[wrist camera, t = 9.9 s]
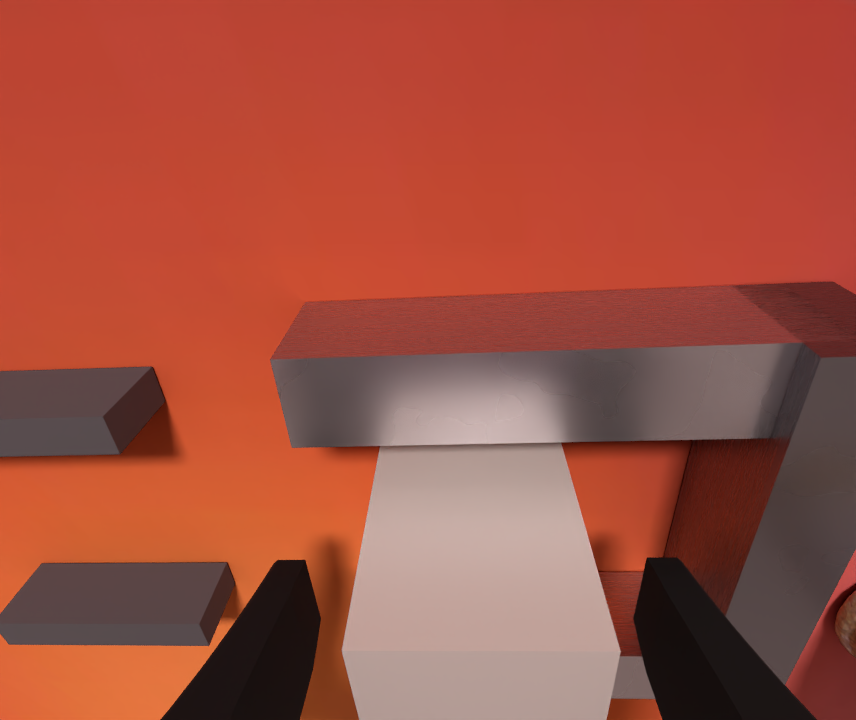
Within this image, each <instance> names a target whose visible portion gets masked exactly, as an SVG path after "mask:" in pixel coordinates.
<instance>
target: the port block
mask: <svg viewBox="0 0 856 720" xmlns="http://www.w3.org/2000/svg"><path fill="white" fill-rule="evenodd" d="M270 361H271V365H272V369H273V373H274V377H275V381H276V385H277V390H278V394H279V398H280V402H281V406H282V410H283V414H284V418H285V422H286V426H287V430H288V434H289V438H290V442H291V446H292V448H301V447H351V446H401V445H452V444H502V443H552V442H602V441H653V440H693V442H692V446H691V450H690V454H689V458H688V462H687V466H686V470H685V474H684V478H683V482H682V486H681V490H680V494H679V498H678V502H677V506H676V510H675V514H674V518H673V522H672V526H671V530H670V534H669V538H668V542H667V546H666V550H665V554H664V558H672V557H677V558H679V559H680V560H681V561H682V562H683V564H684V565H685V566H686V568H687V569H688V570H689V571H690V573H691V574H692V575H693V577H694V578H695V579H696V580H697V582H698V583H699V584H700V585H701V587H702V588H703V589H704V590H705V592H706V593H707V594H708V595H709V597H710V598H711V599H712V600H713V602H714V603H715V604H716V605H717V607H718V608H719V609H720V610H721V612H722V613H723V614H724V615H725V616H726V618H727V619H728V620H729V621H730V623H731V624H732V625H733V626H734V627H735V629H736V630H737V631H738V632H739V633H740V634H741V636H742V637H743V638H744V639H745V640H746V642H747V643H748V644H749V645H750V646H751V647H752V648H753V650H754V651H755V652H756V653H757V654H758V655H759V656H760V658H761V659H762V660H763V661H764V662H765V663H766V665H767V666H768V667H769V668H770V669H771V670H772V671H773V673H774V674H775V675H776V676H777V677H778V678H779V679H780V680H781V681H782V683H783V684H784V685H785V684H786V682H787V680H788V678H789V676H790V674H791V672H792V670H793V668H794V666H795V664H796V663H797V661H798V659H799V657H800V655H801V653H802V651H803V649H804V647H805V645H806V643H807V641H808V640H809V638H810V636H811V634H812V632H813V630H814V628H815V626H816V624H817V622H818V620H819V618H820V616H821V615H822V613H823V611H824V609H825V607H826V605H827V603H828V601H829V599H830V597H831V595H832V593H833V592H834V590H835V588H836V586H837V584H838V582H839V580H840V578H841V576H842V574H843V572H844V570H845V568H846V567H847V565H848V563H849V561H850V559H851V557H852V555H853V553H854V551H855V549H856V295H855V294H854V293H852V292H850V291H848V290H847V289H845V288H843V287H841V286H840V285H838V284H836V283H835V282H811V283H786V284H760V285H735V286H709V287H684V288H658V289H632V290H607V291H581V292H556V293H530V294H505V295H479V296H454V297H428V298H403V299H377V300H351V301H326V302H305V304H304V305H303V307H302V308H301V310H300V312H299V313H298V315H297V317H296V318H295V320H294V321H293V323H292V325H291V326H290V328H289V330H288V331H287V333H286V334H285V336H284V338H283V339H282V341H281V343H280V344H279V346H278V347H277V349H276V351H275V352H274V354H273V356H272V357H271V359H270ZM643 573H644V572H598V574H599V577H600V581H601V584H602V588H603V591H604V595H605V598H606V602H607V605H608V609H609V612H610V616H611V619H612V623H613V626H614V630H615V633H616V637H617V640H618V644H619V647H620V651H621V653H620V658H619V662H618V667H617V672H616V677H615V682H614V686H613V691H612V696H611V698H618V699H655V696H654V694H653V691H652V688H651V685H650V682H649V679H648V676H647V673H646V670H645V666H644V662H643V658H642V654H641V650H640V646H639V642H638V637H637V633H636V629H635V624H634V620H633V617H634V613H635V608H636V604H637V600H638V595H639V591H640V586H641V582H642V577H643Z"/></svg>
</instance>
